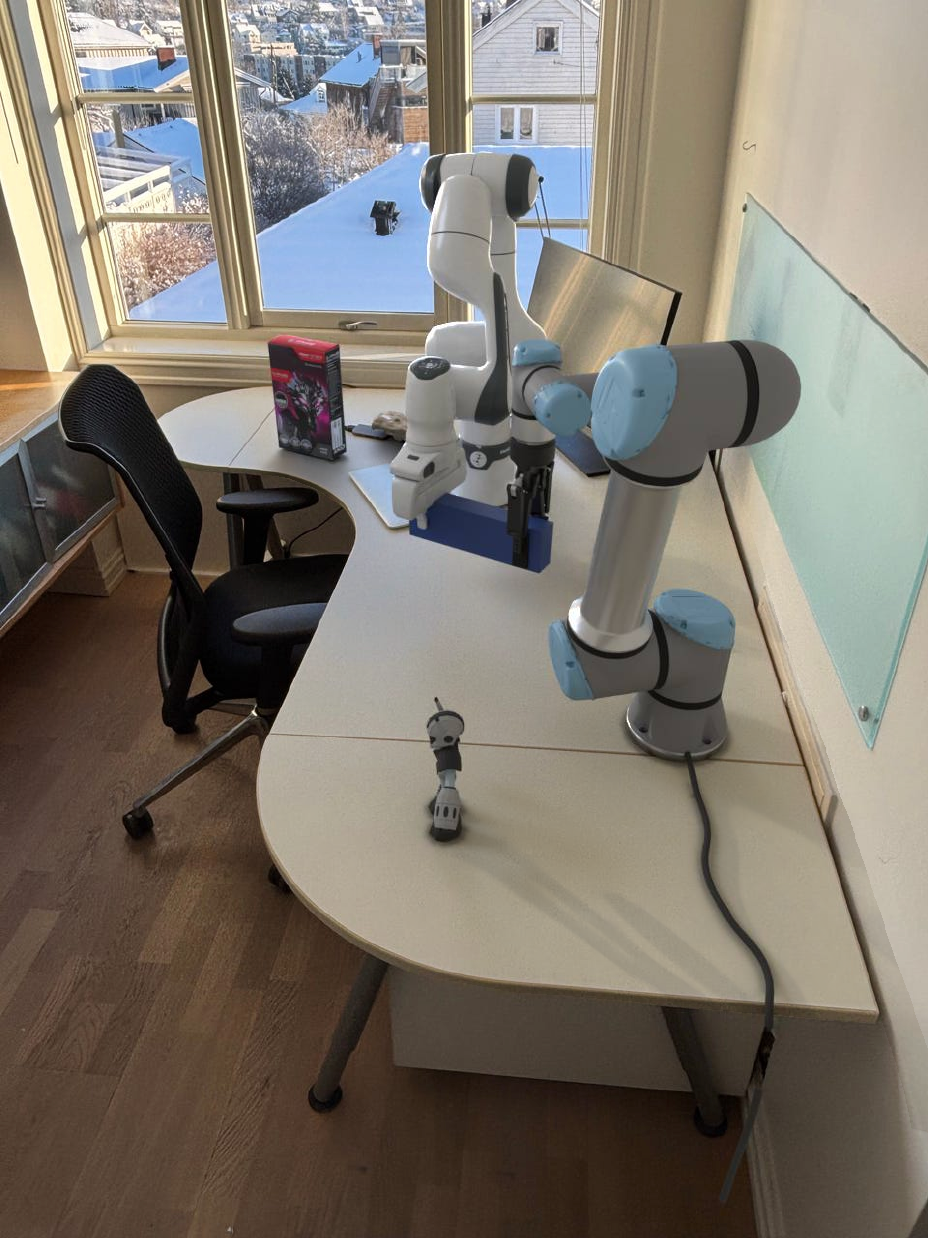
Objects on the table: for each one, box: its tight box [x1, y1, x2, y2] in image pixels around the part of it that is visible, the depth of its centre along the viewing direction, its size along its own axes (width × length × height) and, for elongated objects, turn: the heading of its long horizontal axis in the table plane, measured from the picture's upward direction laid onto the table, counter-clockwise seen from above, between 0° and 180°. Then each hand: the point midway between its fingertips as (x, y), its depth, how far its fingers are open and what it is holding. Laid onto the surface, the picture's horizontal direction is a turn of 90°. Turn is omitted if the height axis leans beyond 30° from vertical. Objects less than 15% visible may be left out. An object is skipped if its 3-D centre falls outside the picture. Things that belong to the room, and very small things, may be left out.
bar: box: [408, 493, 554, 575], centre depth 167 cm, size 27×4×8 cm, turn 59°
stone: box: [371, 410, 408, 442], centre depth 234 cm, size 21×15×6 cm
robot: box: [425, 696, 465, 842], centre depth 121 cm, size 20×5×20 cm, turn 3°
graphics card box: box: [267, 333, 348, 461], centre depth 223 cm, size 17×7×27 cm, turn 62°
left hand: (432, 521), depth 171 cm, fingers closed on bar, 4 cm apart
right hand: (526, 559), depth 164 cm, fingers closed on bar, 4 cm apart
